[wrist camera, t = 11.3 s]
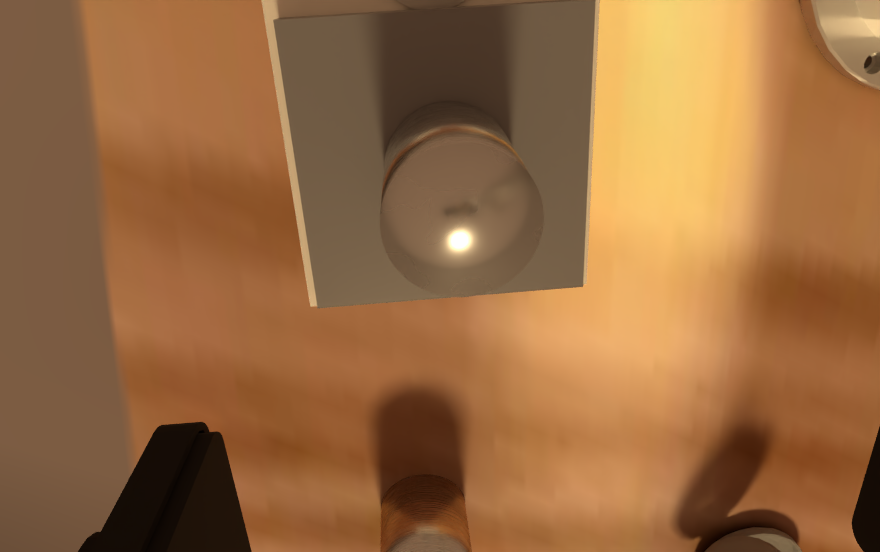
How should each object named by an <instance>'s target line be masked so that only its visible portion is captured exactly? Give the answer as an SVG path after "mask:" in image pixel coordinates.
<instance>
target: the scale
mask: <svg viewBox="0 0 880 552" xmlns="http://www.w3.org/2000/svg"><path fill="white" fill-rule="evenodd" d="M599 3H600V0H262V6H263V12H264V19H265V25H266V31H267V37H268V44H269V50H270V56H271V63H272V69H273V75H274V81H275V88H276V94H277V100H278V106H279V113H280V119H281V125H282V132H283V138H284V144H285V150H286V157H287V163H288V169H289V175H290V182H291V188H292V194H293V201H294V207H295V213H296V219H297V226H298V232H299V238H300V244H301V251H302V257H303V263H304V270H305V276H306V282H307V288H308V295H309V301H310V306H317V307H318V308H327V307H339V306H351V305H364V304H376V303H388V302H401V301H413V300H425V299H438V298H450V297H449V296H442V295H438V294H434V293H431V292H428V291H426V290H423V289H422V288H420V287H418V286H416V285H414V284H413V283H411V282H410V281H409V280H407V279H406V278H405V277H404V276H403V275H402V274H401V273H400V272H399V271H398V270H397V269H396V268H395V266H394V265H393V264H392V262H391V260H390V259H389V257H388V255H387V253H386V251H385V249H384V245H383V242H382V239H381V232H380V211H381V198H382V185H383V173H384V160H385V153H386V149H387V145H388V143H389V140H390V138H391V136H392V134H393V133H394V131H395V129H396V128H397V127H398V125H399V124H400V123H401V122H402V121H403V120H404V119H405V118H406V117H407V116H408V115H410V114H411V113H412V112H414V111H416V110H417V109H419V108H421V107H424V106H426V105H429V104H432V103H436V102H443V101H457V102H463V103H467V104H470V105H473V106H475V107H478V108H480V109H481V110H483V111H485V112H486V113H488V114H489V115H490V116H491V117H492V118H494V120H495V121H496V122H497V123H498V124H499V125H500V127H501V128H502V130H503V131H504V133H505V134H506V136H507V138H508V139H509V141H510V142H511V144H512V146H513V147H514V149H515V151H516V152H517V154H518V156H519V157H520V159H521V160H522V162H523V164H524V165H525V167H526V169H527V170H528V172H529V174H530V175H531V177H532V178H533V180H534V182H535V184H536V186H537V188H538V190H539V193H540V196H541V199H542V204H543V209H544V224H543V231H542V236H541V240H540V242H539V245H538V247H537V250H536V251H535V253H534V255H533V257H532V259H531V260H530V261H529V263H528V264H527V265H526V267H525V268H524V269H523V270H522V271H521V272H520V273H519V274H518V275H517V276H515V277H514V278H513V279H512V280H510V281H509V282H507V283H506V284H504V285H503V286H501V287H499V288H497V289H495V290H493V291H490V292H487V293H484V294H480V295H487V294H499V293H512V292H524V291H536V290H548V289H561V288H573V287H583V284H587V263H588V241H589V220H590V198H591V176H592V155H593V133H594V111H595V90H596V68H597V46H598V24H599Z"/></svg>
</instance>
